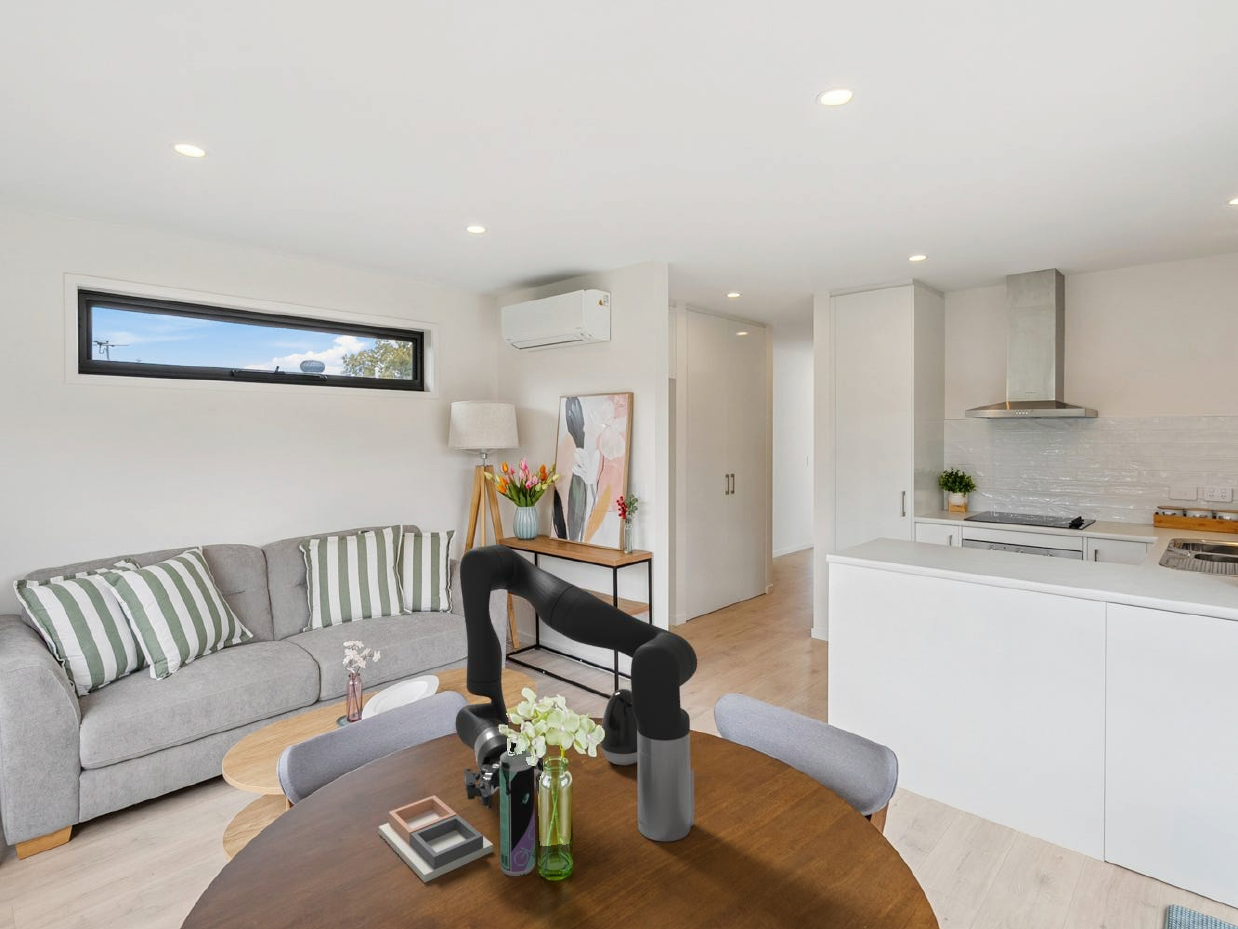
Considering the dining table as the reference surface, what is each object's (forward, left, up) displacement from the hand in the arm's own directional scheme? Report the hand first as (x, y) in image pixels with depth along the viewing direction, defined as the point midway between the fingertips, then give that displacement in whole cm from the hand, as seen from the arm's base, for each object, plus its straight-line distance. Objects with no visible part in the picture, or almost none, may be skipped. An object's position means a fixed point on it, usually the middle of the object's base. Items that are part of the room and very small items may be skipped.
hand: (517, 797), depth 106 cm
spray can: (0, 0, -11) cm, 11 cm away
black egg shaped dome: (-37, -16, -11) cm, 42 cm away
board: (+7, -15, -11) cm, 20 cm away
